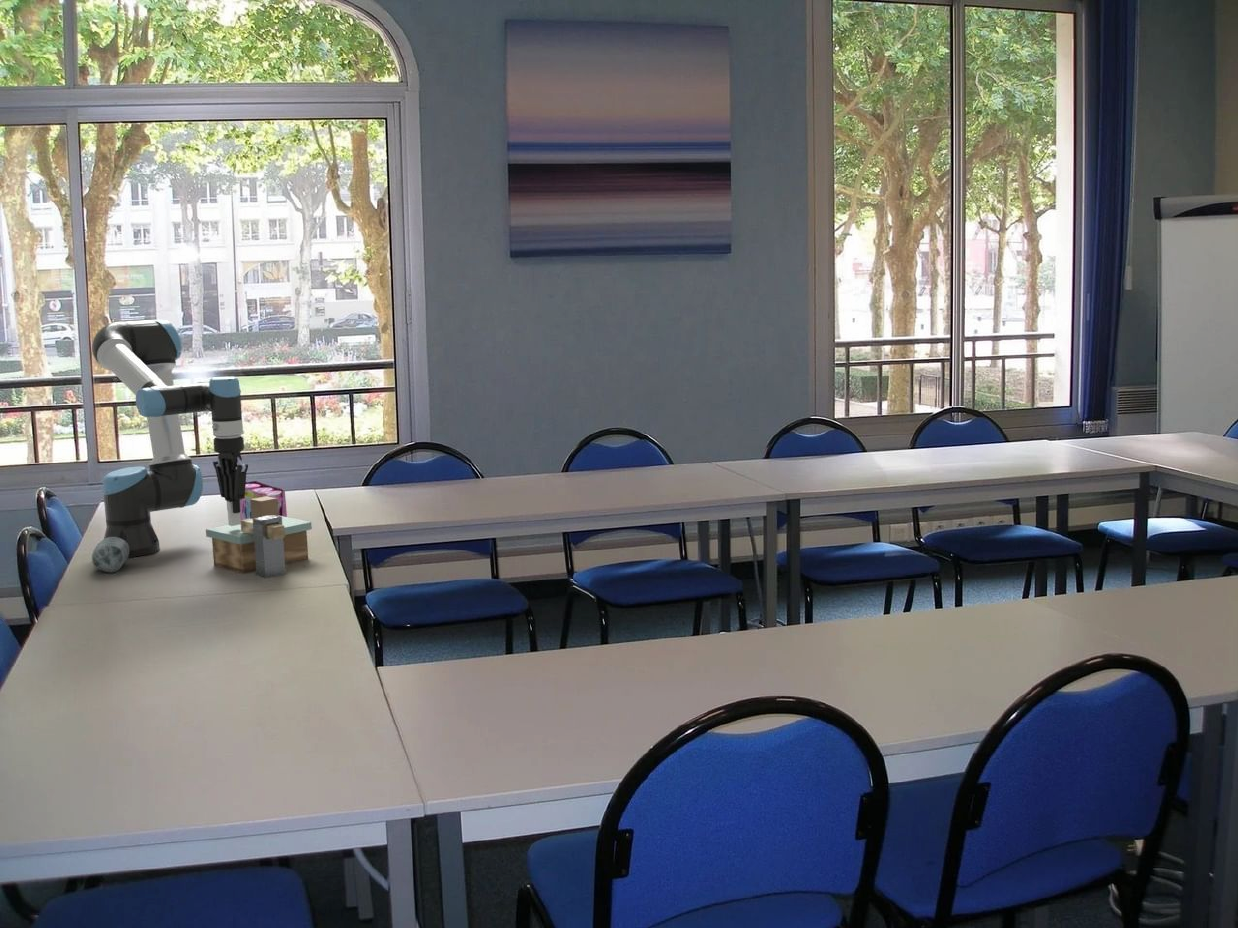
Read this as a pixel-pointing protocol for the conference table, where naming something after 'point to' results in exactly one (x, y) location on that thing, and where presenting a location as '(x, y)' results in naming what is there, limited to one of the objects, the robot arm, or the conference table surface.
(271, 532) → the wooden bar
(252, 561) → the open wooden box
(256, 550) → the keeper
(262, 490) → the gum box
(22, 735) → the conference table surface
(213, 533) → the lid
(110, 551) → the spool
